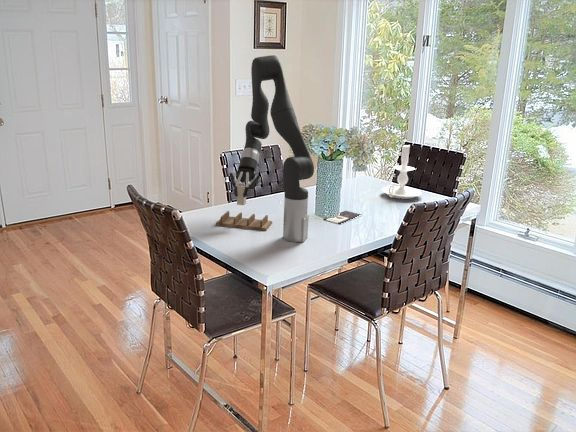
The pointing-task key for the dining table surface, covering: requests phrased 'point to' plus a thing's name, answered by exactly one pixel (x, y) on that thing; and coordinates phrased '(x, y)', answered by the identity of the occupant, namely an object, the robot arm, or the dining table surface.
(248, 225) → the drying rack
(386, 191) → the candlestick
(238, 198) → the clay bar
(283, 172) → the robot arm
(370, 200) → the dining table surface
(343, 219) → the chocolate bar
